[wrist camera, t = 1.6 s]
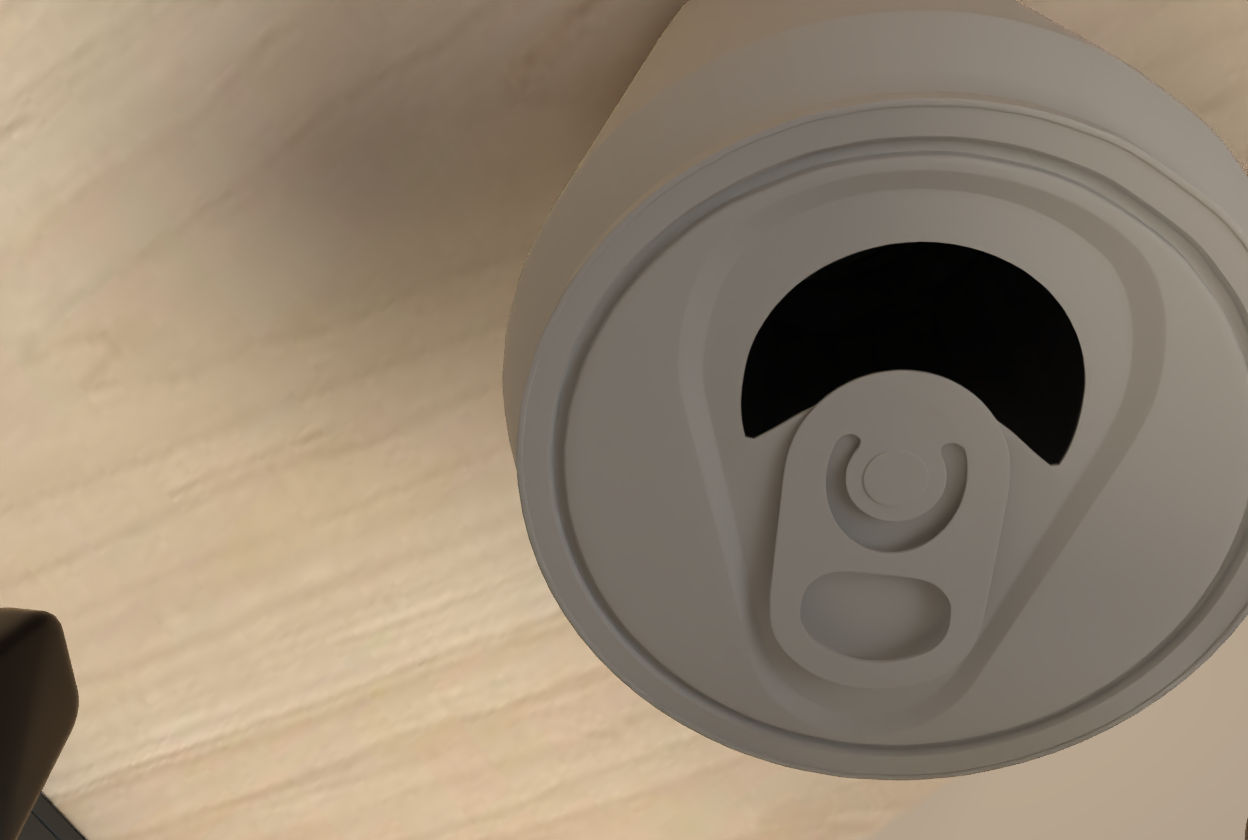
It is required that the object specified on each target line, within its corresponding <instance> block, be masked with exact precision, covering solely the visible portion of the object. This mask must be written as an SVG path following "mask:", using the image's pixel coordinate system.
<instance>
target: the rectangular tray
mask: <svg viewBox="0 0 1248 840" xmlns="http://www.w3.org/2000/svg"><path fill="white" fill-rule="evenodd" d="M17 840H84V839H83V838H82V837H81V836H80V835H79V834H78V833H77V832H76V831H75V830H74V829H73V828H72V827H71V826H70V825H69V824H68V822H67V821H66V820H65V819H64V818H63V817H62V816H61V815H60V814H59V813H58V812H57V811H56V810H55V809H54V808H53V807H52V806H51V805H50V804H49V803H48V802H47V800H46V799H45V798H44V797H43V796H42V795H41V794H39V796H38V798H37V800H36V802H35V804H34V806H33V808H32V810H31V812H30V814H29V816H28V818H27V820H26V822H25V824H24V826H23V828H22V830H21V832H20V834H19V836H18V838H17Z"/></svg>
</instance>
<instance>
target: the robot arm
mask: <svg viewBox="0 0 1248 840" xmlns="http://www.w3.org/2000/svg"><path fill="white" fill-rule="evenodd" d="M78 707H79V696H78V690H77V686H76V682H75V677H74V673H73V669H72V665H71V661H70V657H69V653H68V649H67V645H66V641H65V637H64V632H63V629H62V626H61V623H60V622H59V621H58V619H57V618H56V617H55V616H54V615H53V614H51V613H48V612H46V611H39V610H29V609H19V608H0V840H17V838H18V836H19V834H20V832H21V830H22V828H23V826H24V824H25V822H26V820H27V818H28V816H29V814H30V812H31V810H32V808H33V806H34V804H35V802H36V800H37V798H38V796H39V794H40V792H41V790H42V789H43V787H44V785H45V783H46V781H47V779H48V777H49V775H50V773H51V771H52V769H53V767H54V765H55V763H56V761H57V759H58V757H59V755H60V753H61V751H62V749H63V747H64V745H65V743H66V741H67V739H68V737H69V735H70V733H71V731H72V729H73V726H74V724H75V721H76V717H77V713H78ZM1245 840H1248V819H1247V823H1246V830H1245Z"/></svg>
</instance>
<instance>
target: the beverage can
mask: <svg viewBox="0 0 1248 840" xmlns="http://www.w3.org/2000/svg"><path fill="white" fill-rule="evenodd" d="M503 396H504V407H505V416H506V422H507V429H508V435H509V441H510V445H511V449H512V453H513V457H514V461H515V465H516V469H517V478H518V487H519V494H520V500H521V507H522V513H523V517H524V521H525V525H526V529H527V533H528V537H529V540H530V543H531V546H532V549H533V551H534V554H535V557H536V560H537V563H538V565H539V567H540V570H541V572H542V574H543V576H544V578H545V580H546V583H547V585H548V587H549V589H550V591H551V593H552V594H553V596H554V598H555V599H556V601H557V603H558V605H559V606H560V608H561V610H562V612H563V613H564V615H565V616H566V618H567V619H568V620H569V622H570V623H571V625H572V626H573V627H574V629H575V630H576V632H577V633H578V635H579V636H580V637H581V638H582V639H583V641H584V642H585V643H586V644H587V645H588V647H589V648H590V649H591V650H592V651H593V653H594V654H595V655H596V656H597V657H598V658H599V659H600V660H601V661H602V662H603V663H604V664H605V665H606V666H607V667H608V668H609V669H610V670H611V671H612V672H613V673H614V674H615V675H616V676H617V677H618V678H619V679H620V680H621V681H623V682H624V683H625V684H626V685H627V686H628V687H630V688H631V689H632V690H633V691H634V692H635V693H637V694H638V695H639V696H641V697H642V698H643V699H645V700H646V701H647V702H649V703H650V704H652V705H653V706H654V707H656V708H657V709H658V710H660V711H661V712H663V713H665V714H666V715H668V716H669V717H671V718H673V719H674V720H676V721H677V722H679V723H681V724H682V725H684V726H686V727H688V728H690V729H692V730H694V731H695V732H697V733H699V734H701V735H703V736H705V737H707V738H709V739H711V740H713V741H716V742H718V743H720V744H722V745H724V746H726V747H729V748H731V749H734V750H736V751H739V752H741V753H744V754H747V755H750V756H753V757H756V758H759V759H762V760H765V761H769V762H772V763H775V764H779V765H782V766H786V767H790V768H794V769H799V770H804V771H809V772H815V773H820V774H826V775H832V776H838V777H846V778H858V779H878V780H920V779H933V778H946V777H955V776H963V775H970V774H975V773H980V772H985V771H990V770H995V769H999V768H1003V767H1007V766H1011V765H1015V764H1020V763H1024V762H1027V761H1030V760H1033V759H1036V758H1040V757H1043V756H1046V755H1049V754H1052V753H1055V752H1057V751H1060V750H1063V749H1065V748H1068V747H1070V746H1072V745H1075V744H1078V743H1080V742H1083V741H1085V740H1087V739H1089V738H1091V737H1093V736H1096V735H1098V734H1099V733H1102V732H1104V731H1106V730H1108V729H1110V728H1112V727H1114V726H1116V725H1117V724H1119V723H1121V722H1123V721H1125V720H1126V719H1128V718H1130V717H1132V716H1134V715H1135V714H1137V713H1139V712H1140V711H1142V710H1143V709H1145V708H1146V707H1148V706H1149V705H1151V704H1152V703H1154V702H1155V701H1157V700H1158V699H1160V698H1161V697H1163V696H1164V695H1165V694H1166V693H1168V692H1169V691H1171V690H1172V689H1173V688H1175V687H1176V686H1177V685H1178V684H1180V683H1181V682H1182V681H1183V680H1185V679H1186V678H1187V677H1188V676H1190V675H1191V674H1192V673H1193V672H1194V671H1195V670H1196V669H1197V668H1199V667H1200V666H1201V665H1202V664H1203V663H1204V662H1205V661H1206V660H1207V659H1209V658H1210V657H1211V656H1212V655H1213V654H1214V653H1215V651H1216V650H1217V649H1218V648H1219V647H1220V646H1221V645H1222V644H1223V643H1224V642H1225V641H1226V640H1227V639H1228V638H1229V637H1230V636H1231V635H1232V633H1233V632H1234V631H1235V629H1236V628H1237V627H1238V626H1239V624H1240V623H1241V622H1242V621H1243V620H1244V618H1245V617H1246V616H1247V615H1248V176H1247V175H1246V173H1245V172H1244V170H1243V169H1242V167H1241V166H1240V165H1239V163H1238V162H1237V160H1236V159H1235V158H1234V156H1233V155H1232V153H1231V152H1230V150H1229V149H1228V148H1227V147H1226V145H1225V144H1224V143H1223V142H1222V140H1221V139H1220V138H1219V136H1218V135H1217V134H1216V133H1215V132H1214V131H1213V130H1212V129H1211V128H1210V127H1209V126H1208V125H1207V124H1206V123H1205V122H1204V121H1202V120H1201V119H1200V118H1199V117H1198V116H1196V115H1195V114H1194V113H1193V112H1192V111H1190V110H1189V109H1188V108H1187V107H1185V106H1184V105H1183V104H1182V103H1180V102H1179V101H1178V100H1176V99H1175V98H1174V97H1172V96H1171V95H1170V94H1168V93H1167V92H1166V91H1164V90H1163V89H1162V88H1160V87H1159V86H1158V85H1156V84H1155V83H1153V82H1152V81H1151V80H1149V79H1148V78H1146V77H1145V76H1144V75H1142V74H1141V73H1139V72H1138V71H1137V70H1135V69H1134V68H1132V67H1131V66H1129V65H1128V64H1126V63H1125V62H1123V61H1122V60H1120V59H1119V58H1117V57H1115V56H1114V55H1112V54H1110V53H1109V52H1107V51H1105V50H1103V49H1101V48H1100V47H1098V46H1096V45H1094V44H1093V43H1091V42H1089V41H1087V40H1085V39H1084V38H1082V37H1080V36H1078V35H1076V34H1075V33H1073V32H1071V31H1069V30H1067V29H1066V28H1064V27H1062V26H1060V25H1058V24H1057V23H1055V22H1053V21H1051V20H1049V19H1048V18H1046V17H1044V16H1042V15H1040V14H1039V13H1037V12H1035V11H1033V10H1032V9H1030V8H1028V7H1026V6H1024V5H1023V4H1021V3H1019V2H1017V1H1015V0H688V1H687V2H686V3H685V4H684V5H683V6H682V8H681V9H680V10H679V11H678V13H677V14H676V15H675V17H674V18H673V19H672V20H671V22H670V23H669V25H668V26H667V27H666V29H665V30H664V32H663V33H662V35H661V36H660V38H659V39H658V41H657V43H656V44H655V46H654V47H653V49H652V51H651V52H650V54H649V55H648V57H647V58H646V60H645V62H644V63H643V65H642V66H641V68H640V69H639V71H638V73H637V74H636V76H635V77H634V79H633V80H632V82H631V84H630V85H629V87H628V88H627V90H626V92H625V93H624V95H623V96H622V98H621V99H620V101H619V103H618V104H617V106H616V107H615V109H614V110H613V112H612V114H611V115H610V117H609V118H608V120H607V122H606V123H605V125H604V126H603V128H602V129H601V131H600V133H599V134H598V136H597V137H596V139H595V140H594V142H593V144H592V145H591V147H590V148H589V150H588V151H587V153H586V155H585V156H584V158H583V159H582V161H581V163H580V164H579V166H578V167H577V169H576V170H575V172H574V174H573V175H572V177H571V178H570V180H569V181H568V183H567V185H566V186H565V188H564V189H563V191H562V192H561V194H560V196H559V197H558V199H557V200H556V202H555V204H554V205H553V207H552V209H551V210H550V212H549V214H548V216H547V217H546V219H545V221H544V223H543V225H542V227H541V229H540V231H539V233H538V235H537V237H536V239H535V241H534V243H533V245H532V247H531V250H530V252H529V254H528V256H527V259H526V261H525V263H524V266H523V269H522V272H521V275H520V278H519V282H518V285H517V289H516V293H515V296H514V300H513V303H512V307H511V311H510V315H509V319H508V324H507V332H506V340H505V352H504V364H503Z"/></svg>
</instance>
